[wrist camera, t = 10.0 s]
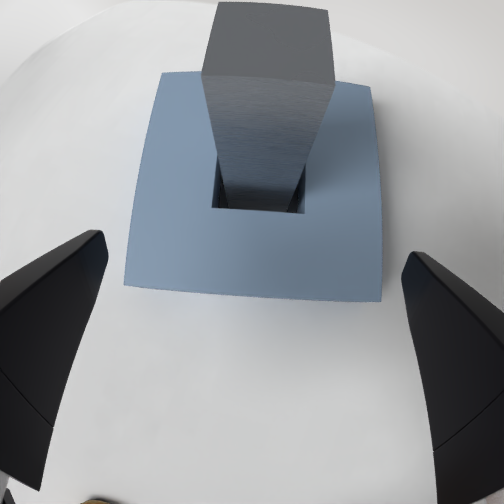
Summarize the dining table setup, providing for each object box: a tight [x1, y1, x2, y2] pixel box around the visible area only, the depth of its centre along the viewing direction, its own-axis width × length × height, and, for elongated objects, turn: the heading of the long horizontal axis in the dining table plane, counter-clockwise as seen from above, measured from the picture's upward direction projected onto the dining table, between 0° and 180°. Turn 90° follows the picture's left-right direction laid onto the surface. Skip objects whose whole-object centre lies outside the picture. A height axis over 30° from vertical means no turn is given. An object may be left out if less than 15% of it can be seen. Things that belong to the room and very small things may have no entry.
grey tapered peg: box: [201, 2, 336, 213], centre depth 14 cm, size 4×4×13 cm
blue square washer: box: [124, 71, 382, 302], centre depth 19 cm, size 14×14×3 cm
